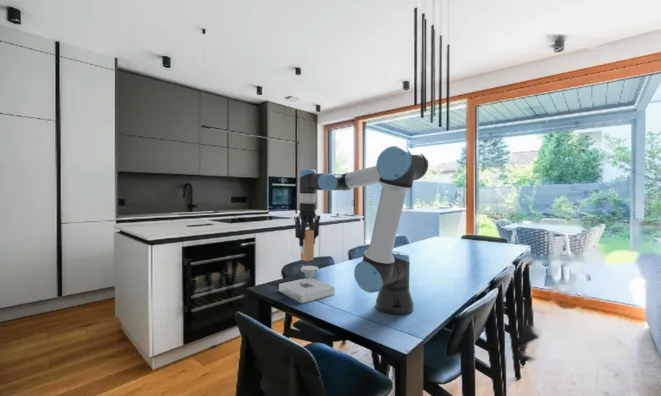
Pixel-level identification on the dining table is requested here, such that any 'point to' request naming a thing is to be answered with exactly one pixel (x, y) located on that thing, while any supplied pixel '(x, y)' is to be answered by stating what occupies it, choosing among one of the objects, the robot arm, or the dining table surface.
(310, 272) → the showerhead
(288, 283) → the plate
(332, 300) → the dining table surface
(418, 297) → the dining table surface
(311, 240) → the keyed peg
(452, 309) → the dining table surface
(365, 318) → the dining table surface
